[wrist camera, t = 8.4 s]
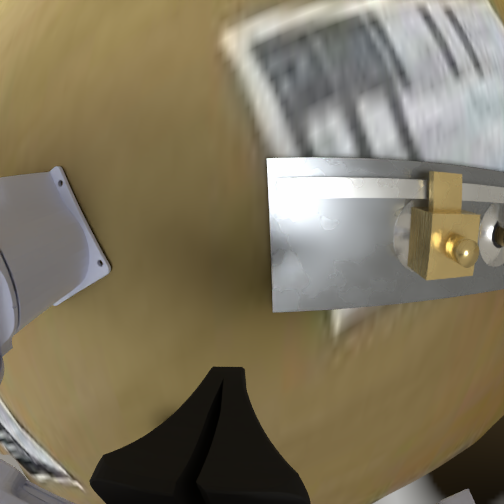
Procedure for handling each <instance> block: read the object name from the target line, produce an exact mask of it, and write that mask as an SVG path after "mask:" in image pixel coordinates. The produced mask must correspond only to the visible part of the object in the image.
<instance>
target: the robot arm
mask: <svg viewBox="0 0 504 504" xmlns="http://www.w3.org/2000/svg"><path fill="white" fill-rule="evenodd" d="M61 181H63V185H61ZM100 260H101V261H102V262H103V265H101V263H100ZM110 271H111V266H110V264H109V262H108V261H107V259H106V257H105V255H104V254H103V252H102V250H101V248H100V246H99V244H98V242H97V241H96V239H95V237H94V235H93V233H92V231H91V229H90V227H89V225H88V223H87V221H86V219H85V217H84V215H83V213H82V211H81V209H80V207H79V205H78V203H77V201H76V198H75V196H74V194H73V192H72V190H71V187H70V185H69V183H68V181H67V178H66V176H65V174H64V171H63V169H62V167H60V166H55V167H54V168H53V169H52V170H51V171H50V172H41V173H32V174H23V175H15V176H8V177H1V178H0V384H1V382H2V379H3V375H4V362H3V358H2V357H3V356H4V355H5V354H6V353H7V352H8V351H9V350H11V349H12V337H13V335H15V334H16V333H17V332H19V331H20V330H21V329H22V328H24V327H25V326H26V325H27V324H29V323H30V322H31V321H32V320H34V319H35V318H36V317H38V316H39V315H40V314H41V313H43V312H44V311H45V310H47V309H48V308H49V307H51V306H52V305H54V306H57V305H58V304H60V303H61V302H63V301H65V300H66V299H68V298H69V297H71V296H73V295H74V294H76V293H77V292H79V291H81V290H82V289H84V288H86V287H87V286H89V285H91V284H92V283H94V282H96V281H97V280H99V279H101V278H102V277H104V276H106V275H107V274H109V273H110ZM90 485H91V487H92V488H93V490H94V491H95V492H96V493H97V494H98V495H99V496H100V498H101V499H102V500H103V501H104V502H105V503H106V504H310V498H309V495H308V492H307V490H306V488H305V486H304V484H303V482H302V480H301V478H300V477H299V475H298V473H297V472H296V471H295V470H294V469H293V468H292V467H291V466H290V465H289V464H288V463H287V462H286V461H285V459H284V458H283V457H282V456H281V455H280V454H279V452H278V451H277V450H276V448H275V447H274V445H273V444H272V443H271V441H270V440H269V438H268V437H267V435H266V433H265V432H264V430H263V428H262V427H261V425H260V423H259V421H258V419H257V417H256V415H255V412H254V410H253V408H252V405H251V402H250V400H249V396H248V393H247V390H246V379H245V369H244V368H243V367H212V368H211V370H210V371H209V373H208V374H207V375H206V377H205V378H204V380H203V381H202V382H201V384H200V385H199V386H198V387H197V389H196V390H195V391H194V392H193V394H192V395H191V396H190V397H189V398H188V399H187V400H186V402H185V403H184V404H183V405H182V406H181V407H180V408H179V409H178V410H177V411H176V412H175V413H174V414H173V415H172V416H170V417H169V418H168V419H167V420H166V421H165V422H163V423H162V424H161V425H159V426H158V427H157V428H155V429H154V430H153V431H151V432H150V433H148V434H147V435H145V436H144V437H142V438H140V439H138V440H136V441H135V442H133V443H131V444H129V445H127V446H125V447H123V448H120V449H118V450H115V451H113V452H110V453H108V454H105V455H103V456H102V458H101V459H100V461H99V463H98V464H97V466H96V468H95V471H94V473H93V475H92V477H91V479H90ZM0 504H75V503H73V502H71V501H68V500H66V499H64V498H62V497H59V496H57V495H55V494H53V493H51V492H49V491H47V490H45V489H43V488H41V487H39V486H37V485H35V484H34V483H32V482H30V481H28V480H26V478H25V477H24V476H23V474H22V473H21V472H20V471H18V470H17V469H16V468H15V467H13V466H11V465H10V464H8V463H6V462H5V461H3V460H2V459H0ZM437 504H475V503H474V500H473V498H472V496H471V494H470V491H469V489H465V490H463V491H461V492H459V493H457V494H454V495H453V496H450V497H447V498H446V499H443V500H441V501H440V502H438V503H437Z"/></svg>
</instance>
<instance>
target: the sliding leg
mask: <svg viewBox="0 0 504 504" xmlns="http://www.w3.org/2000/svg"><path fill="white" fill-rule="evenodd" d="M461 207H462V174H456V173H446V172H435V171H429V207H411V224H410V240H409V252H408V263H407V266H408V267H409V268H411V269H412V270H413V271H415V272H416V273H417V274H418V275H420V276H421V277H422V278H424V279H425V280H436V279H446V278H456V277H465V276H473V271H474V265H475V263H476V261H477V259H478V256H479V246H478V235H479V224H480V215H479V214H476V213H473V212H469V211H466V210H462V209H461Z"/></svg>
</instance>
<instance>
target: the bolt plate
mask: <svg viewBox="0 0 504 504" xmlns="http://www.w3.org/2000/svg"><path fill="white" fill-rule="evenodd" d="M429 171H435V172H446V173H456V174H462V207H461V209H462V210H466V211H469V212H473V213H476V214H479V215H480V224H479V235H478V246H479V256H478V259H477V261H476V263H475V265H474V271H473V276H465V277H456V278H446V279H436V280H425V279H424V278H422V277H421V276H420V275H418V274H417V273H416V272H415V271H413V270H412V269H411V268H409V267H408V266H407V263H408V252H409V240H410V224H411V207H429ZM267 175H268V197H269V220H270V245H271V273H272V305H273V312H294V311H313V310H329V309H343V308H356V307H368V306H379V305H390V304H399V303H408V302H417V301H426V300H434V299H441V298H449V297H456V296H463V295H470V294H476V293H482V292H488V291H494V290H500V289H504V172H499V171H493V170H487V169H480V168H473V167H466V166H458V165H449V164H440V163H430V162H419V161H406V160H391V159H371V158H331V157H309V158H268V159H267Z"/></svg>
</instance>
